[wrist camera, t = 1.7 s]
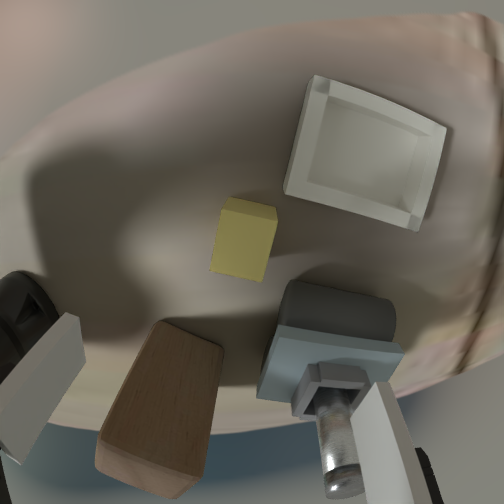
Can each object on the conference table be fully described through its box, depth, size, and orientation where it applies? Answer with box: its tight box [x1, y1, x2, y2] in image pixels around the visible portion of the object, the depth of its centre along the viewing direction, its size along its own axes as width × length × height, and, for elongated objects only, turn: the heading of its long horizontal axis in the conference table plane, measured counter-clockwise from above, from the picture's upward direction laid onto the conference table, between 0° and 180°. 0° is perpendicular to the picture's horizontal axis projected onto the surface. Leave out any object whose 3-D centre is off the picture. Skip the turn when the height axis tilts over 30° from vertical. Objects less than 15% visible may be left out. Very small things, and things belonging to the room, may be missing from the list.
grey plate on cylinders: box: [256, 280, 405, 421], centre depth 31 cm, size 14×15×12 cm
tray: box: [282, 75, 447, 232], centre depth 26 cm, size 15×12×4 cm
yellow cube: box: [210, 197, 278, 282], centre depth 29 cm, size 5×6×6 cm
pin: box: [313, 386, 365, 499], centre depth 22 cm, size 4×4×13 cm
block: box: [95, 321, 224, 499], centre depth 29 cm, size 10×10×20 cm
